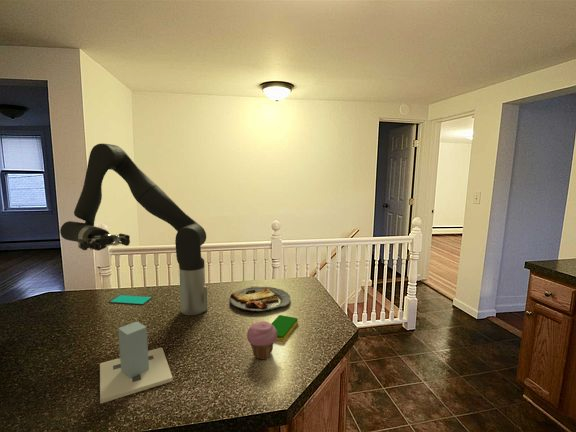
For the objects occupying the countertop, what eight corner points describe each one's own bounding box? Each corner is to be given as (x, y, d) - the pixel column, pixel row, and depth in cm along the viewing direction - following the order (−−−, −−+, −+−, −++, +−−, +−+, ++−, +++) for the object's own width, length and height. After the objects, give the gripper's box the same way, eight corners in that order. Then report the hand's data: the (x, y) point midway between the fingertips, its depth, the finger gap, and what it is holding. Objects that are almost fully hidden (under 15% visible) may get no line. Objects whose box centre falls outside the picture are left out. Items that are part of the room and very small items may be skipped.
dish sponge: (262, 339, 102) (262, 332, 102) (279, 320, 115) (279, 314, 115) (282, 343, 100) (282, 336, 99) (297, 324, 112) (297, 318, 112)
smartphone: (119, 294, 135) (152, 296, 133) (120, 296, 135) (153, 298, 133) (108, 302, 128) (142, 304, 126) (108, 303, 128) (143, 306, 126)
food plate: (241, 319, 115) (241, 310, 114) (221, 297, 135) (221, 289, 134) (300, 307, 127) (300, 299, 126) (274, 289, 147) (274, 281, 146)
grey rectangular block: (139, 362, 87) (137, 321, 85) (149, 369, 84) (146, 327, 82) (121, 370, 83) (118, 328, 82) (129, 378, 80) (127, 334, 78)
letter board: (162, 350, 95) (162, 347, 94) (172, 381, 81) (172, 377, 81) (100, 366, 87) (100, 363, 86) (100, 403, 73) (100, 399, 73)
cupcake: (272, 366, 87) (272, 332, 86) (242, 361, 90) (242, 328, 88) (280, 349, 96) (280, 318, 95) (253, 345, 98) (253, 314, 97)
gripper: (69, 229, 104) (87, 236, 94) (115, 224, 115) (135, 230, 105) (71, 251, 105) (89, 261, 95) (116, 244, 116) (137, 252, 106)
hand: (113, 244), depth 100 cm, fingers open, 8 cm apart
